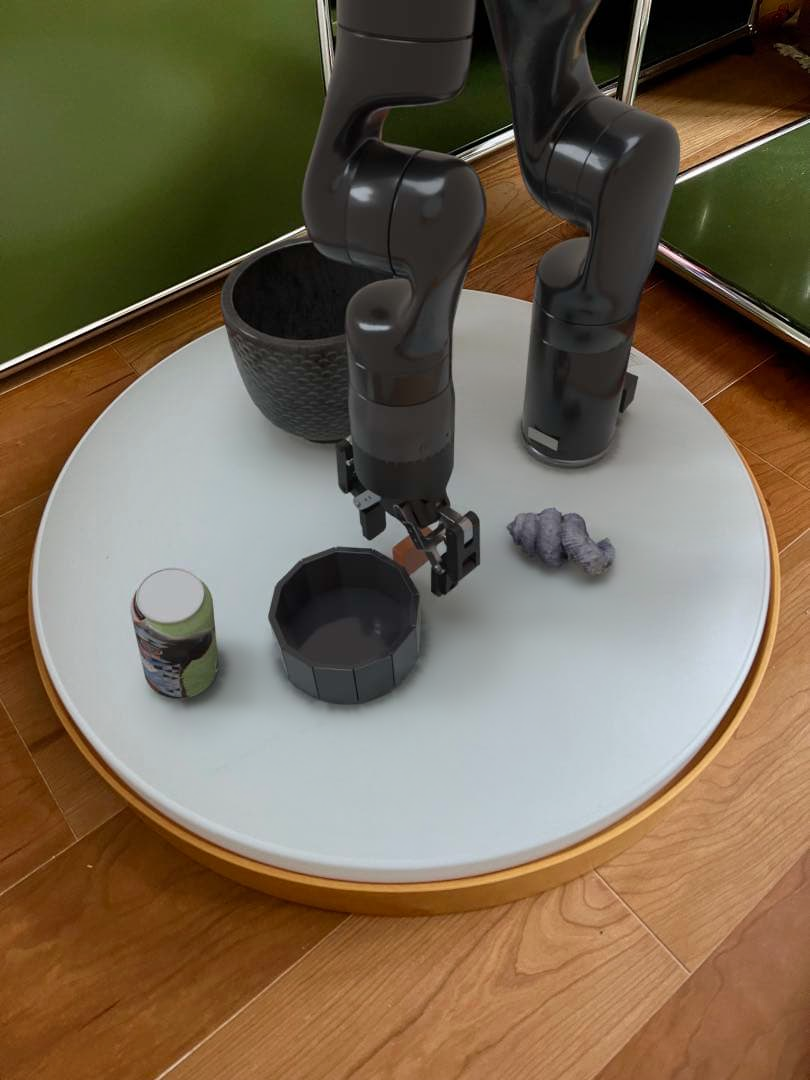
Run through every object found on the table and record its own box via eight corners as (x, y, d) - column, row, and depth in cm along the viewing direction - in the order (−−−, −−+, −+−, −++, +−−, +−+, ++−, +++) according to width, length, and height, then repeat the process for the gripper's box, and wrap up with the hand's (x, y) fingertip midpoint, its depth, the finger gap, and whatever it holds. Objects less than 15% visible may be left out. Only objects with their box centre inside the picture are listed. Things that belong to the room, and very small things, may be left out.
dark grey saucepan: (363, 538, 84) (357, 488, 78) (470, 597, 79) (472, 548, 74) (251, 657, 76) (235, 610, 71) (362, 730, 71) (355, 687, 66)
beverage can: (152, 645, 77) (111, 561, 68) (237, 638, 77) (208, 552, 68) (145, 711, 73) (101, 630, 64) (235, 702, 73) (204, 621, 64)
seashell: (612, 573, 82) (506, 550, 84) (624, 516, 80) (516, 495, 83) (608, 588, 77) (494, 563, 79) (620, 527, 75) (505, 504, 78)
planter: (299, 346, 102) (278, 219, 89) (438, 385, 97) (436, 256, 84) (218, 446, 92) (182, 319, 80) (368, 495, 87) (354, 368, 75)
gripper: (511, 445, 62) (499, 583, 75) (374, 352, 69) (384, 494, 82) (434, 501, 59) (435, 636, 72) (299, 399, 66) (321, 538, 78)
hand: (407, 560), depth 77 cm, fingers open, 8 cm apart
